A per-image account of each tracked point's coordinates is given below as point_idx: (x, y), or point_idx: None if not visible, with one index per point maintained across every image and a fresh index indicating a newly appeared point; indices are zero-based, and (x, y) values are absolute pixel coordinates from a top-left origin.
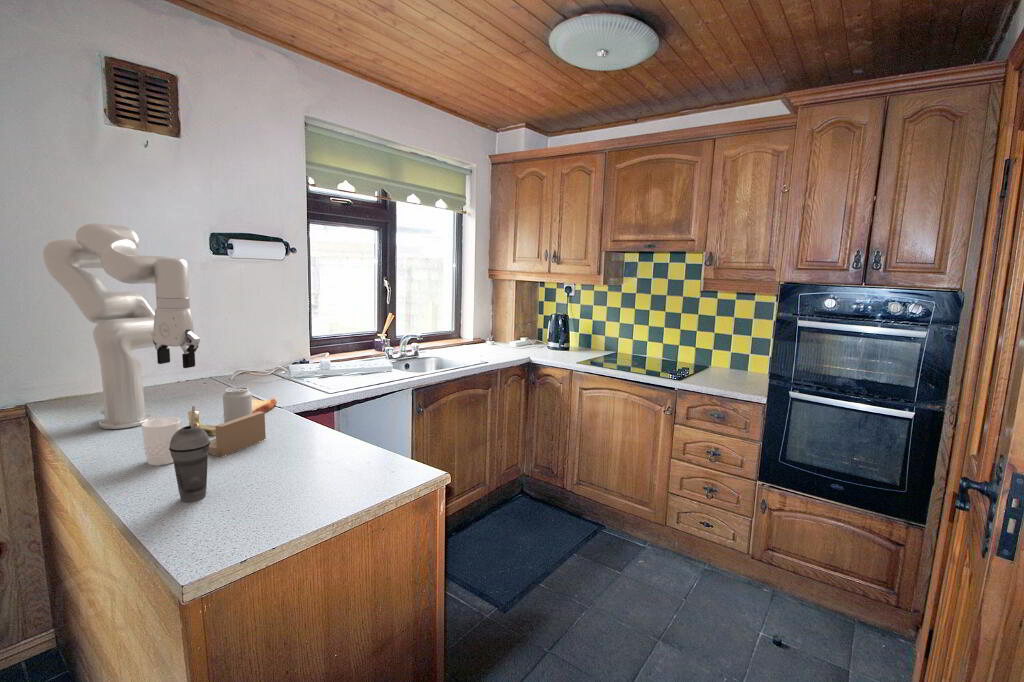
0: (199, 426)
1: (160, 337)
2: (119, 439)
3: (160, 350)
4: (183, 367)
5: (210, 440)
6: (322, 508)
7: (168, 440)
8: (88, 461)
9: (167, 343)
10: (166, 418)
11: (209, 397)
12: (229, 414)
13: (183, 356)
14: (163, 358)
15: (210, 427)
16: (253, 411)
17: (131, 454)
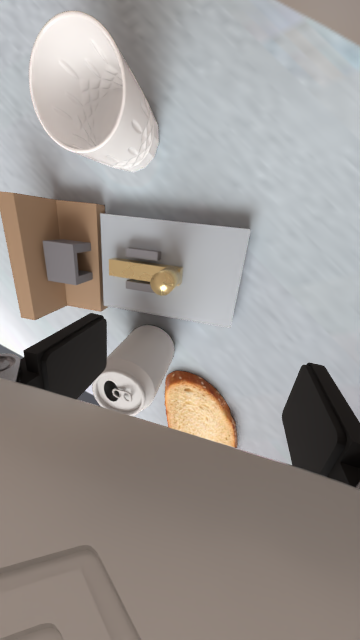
0: (153, 272)
1: (253, 624)
2: (347, 216)
3: (334, 448)
4: (99, 315)
5: (102, 235)
6: None
7: (67, 95)
8: (296, 46)
9: (92, 425)
10: (105, 139)
11: None
12: (136, 338)
13: (42, 342)
14: (302, 404)
15: (127, 272)
16: (165, 402)
17: (229, 139)
